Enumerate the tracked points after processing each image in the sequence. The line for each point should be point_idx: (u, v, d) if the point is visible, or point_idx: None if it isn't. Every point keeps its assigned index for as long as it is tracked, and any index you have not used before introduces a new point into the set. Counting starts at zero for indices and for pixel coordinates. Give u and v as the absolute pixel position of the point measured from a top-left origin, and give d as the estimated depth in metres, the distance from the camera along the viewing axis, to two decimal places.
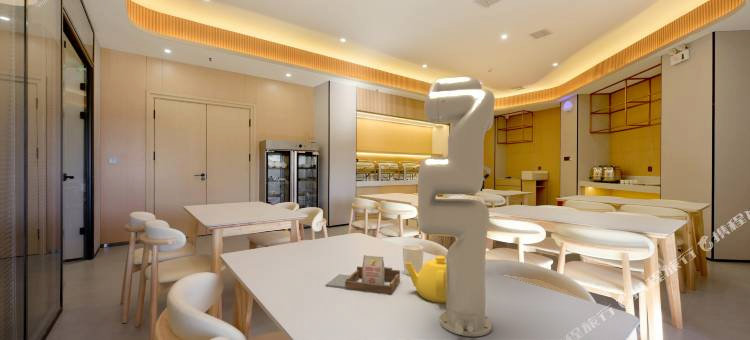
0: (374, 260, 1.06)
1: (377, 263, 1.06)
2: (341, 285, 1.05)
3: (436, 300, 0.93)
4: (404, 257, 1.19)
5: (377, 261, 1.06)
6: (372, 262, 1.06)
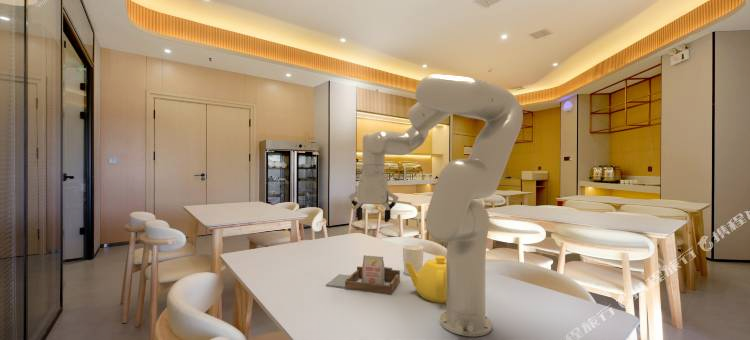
0: (374, 260, 1.06)
1: (377, 263, 1.06)
2: (341, 285, 1.05)
3: (436, 300, 0.93)
4: (404, 257, 1.19)
5: (377, 261, 1.06)
6: (372, 262, 1.06)
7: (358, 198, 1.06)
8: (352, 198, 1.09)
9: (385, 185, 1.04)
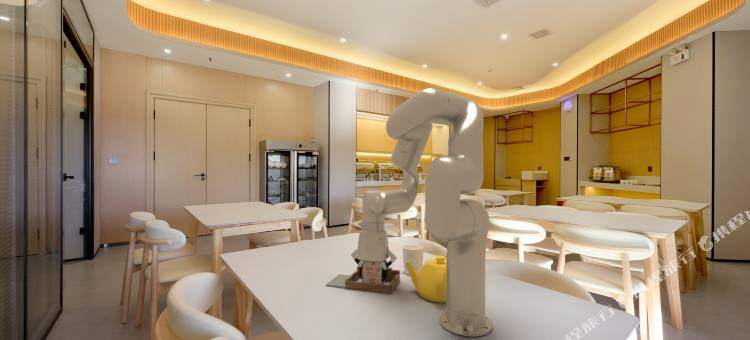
0: None
1: (377, 263, 1.06)
2: (341, 285, 1.05)
3: (436, 300, 0.93)
4: (404, 257, 1.19)
5: None
6: (372, 262, 1.06)
7: (358, 255, 1.06)
8: (354, 256, 1.09)
9: (385, 243, 1.04)
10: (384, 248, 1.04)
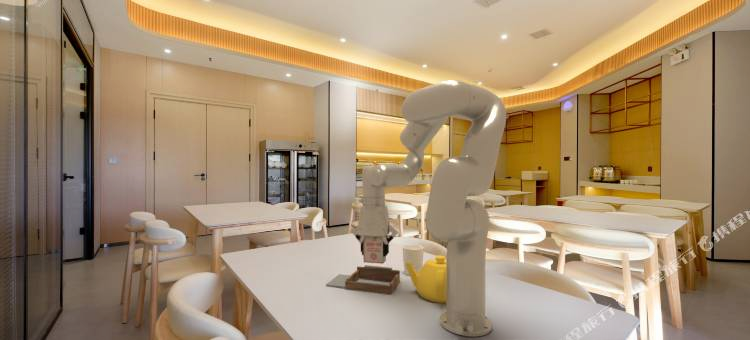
0: None
1: (378, 238, 1.05)
2: (341, 285, 1.05)
3: (436, 300, 0.93)
4: (404, 257, 1.19)
5: None
6: (373, 237, 1.06)
7: (359, 230, 1.06)
8: (355, 233, 1.08)
9: (386, 217, 1.04)
10: (385, 222, 1.03)
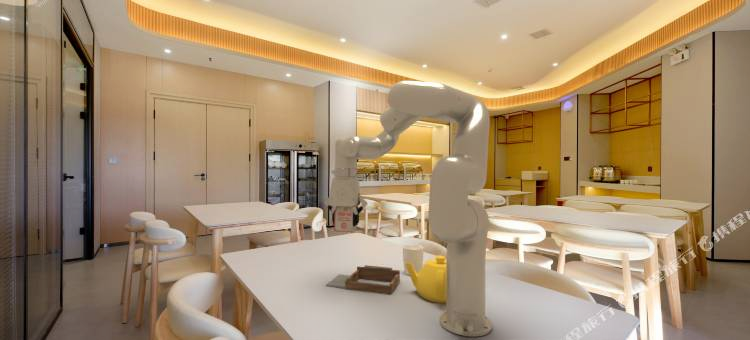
0: None
1: (349, 208, 1.09)
2: (341, 285, 1.05)
3: (436, 300, 0.93)
4: (404, 257, 1.19)
5: (349, 207, 1.09)
6: (344, 208, 1.10)
7: (330, 201, 1.09)
8: (327, 203, 1.12)
9: (356, 188, 1.07)
10: (355, 193, 1.07)
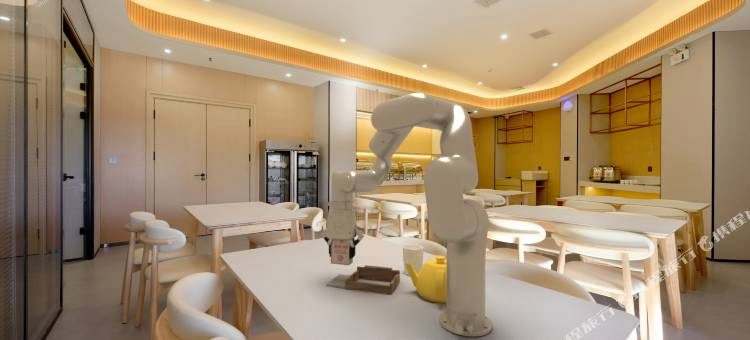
0: None
1: (345, 241, 1.09)
2: (341, 285, 1.05)
3: (436, 300, 0.93)
4: (404, 257, 1.19)
5: None
6: (340, 240, 1.10)
7: (327, 233, 1.09)
8: (324, 235, 1.12)
9: (352, 221, 1.07)
10: (351, 226, 1.07)
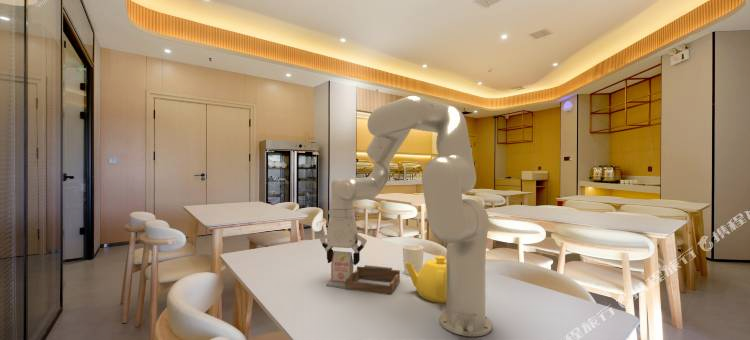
0: (343, 255, 1.10)
1: (346, 258, 1.09)
2: (341, 285, 1.05)
3: (436, 300, 0.93)
4: (404, 257, 1.19)
5: (346, 256, 1.09)
6: (341, 257, 1.10)
7: (328, 241, 1.09)
8: (323, 241, 1.12)
9: (353, 229, 1.07)
10: (352, 234, 1.07)
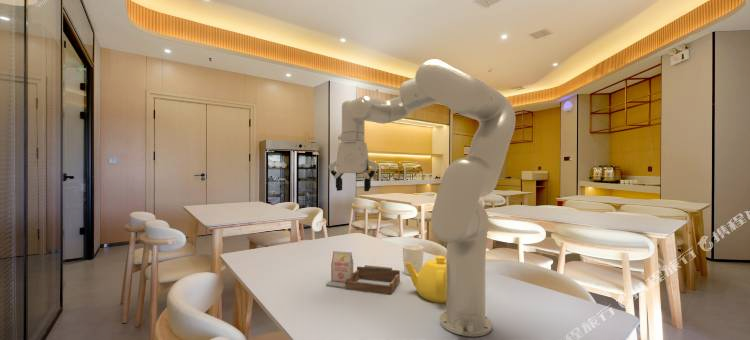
0: (343, 255, 1.10)
1: (346, 258, 1.09)
2: (341, 285, 1.05)
3: (436, 300, 0.93)
4: (404, 257, 1.19)
5: (346, 256, 1.09)
6: (341, 257, 1.10)
7: (337, 167, 1.03)
8: (331, 168, 1.06)
9: (364, 153, 1.01)
10: (363, 158, 1.00)
